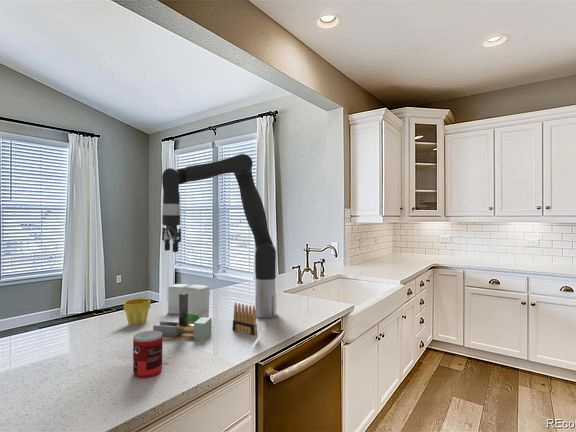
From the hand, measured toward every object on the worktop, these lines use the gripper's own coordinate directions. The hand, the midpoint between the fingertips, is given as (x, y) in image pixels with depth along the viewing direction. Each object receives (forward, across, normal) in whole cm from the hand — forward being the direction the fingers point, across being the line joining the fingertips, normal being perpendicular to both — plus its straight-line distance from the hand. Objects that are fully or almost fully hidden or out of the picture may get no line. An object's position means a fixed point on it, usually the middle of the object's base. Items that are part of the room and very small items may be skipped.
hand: (171, 251), depth 148 cm
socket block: (+29, -31, +1) cm, 42 cm away
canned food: (+30, -44, +26) cm, 59 cm away
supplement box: (+30, +9, -8) cm, 33 cm away
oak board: (+30, -25, +6) cm, 40 cm away
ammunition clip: (+30, -37, -13) cm, 50 cm away
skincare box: (+30, -11, -7) cm, 33 cm away
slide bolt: (+29, -28, +4) cm, 40 cm away
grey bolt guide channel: (+29, -21, +10) cm, 37 cm away
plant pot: (+30, +3, +13) cm, 33 cm away
